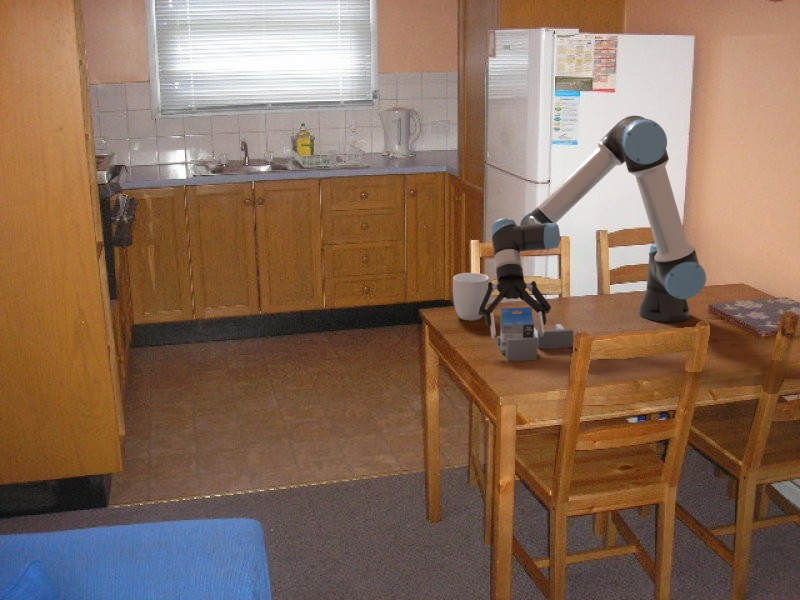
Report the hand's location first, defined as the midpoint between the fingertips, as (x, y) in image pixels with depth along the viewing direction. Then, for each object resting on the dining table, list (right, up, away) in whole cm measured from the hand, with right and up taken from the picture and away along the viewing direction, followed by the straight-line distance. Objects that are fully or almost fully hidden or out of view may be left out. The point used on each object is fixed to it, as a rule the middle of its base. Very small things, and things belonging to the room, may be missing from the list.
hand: (518, 335), depth 249 cm
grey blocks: (0, -4, +4) cm, 6 cm away
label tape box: (0, -5, +4) cm, 6 cm away
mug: (-10, +4, +34) cm, 35 cm away
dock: (+11, -2, +13) cm, 17 cm away
